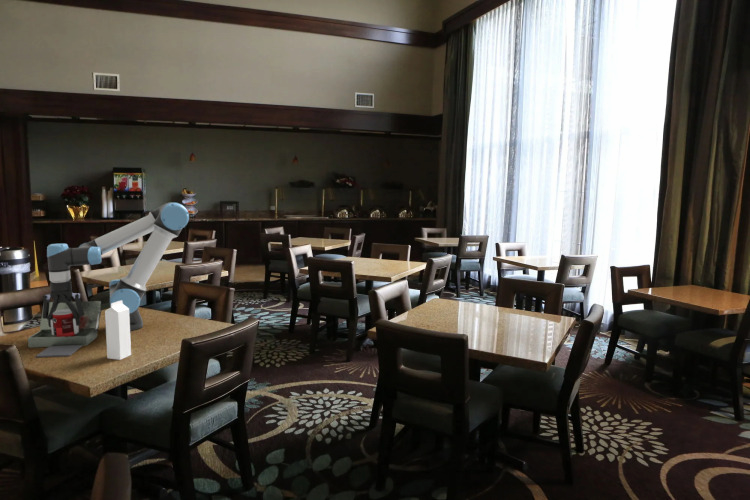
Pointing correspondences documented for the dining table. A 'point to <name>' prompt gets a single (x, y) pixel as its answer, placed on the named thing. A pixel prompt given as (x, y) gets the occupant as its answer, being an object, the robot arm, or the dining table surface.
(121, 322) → the milk
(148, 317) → the dining table surface
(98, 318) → the case
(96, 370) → the dining table surface
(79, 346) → the pad
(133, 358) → the dining table surface
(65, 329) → the canned food
